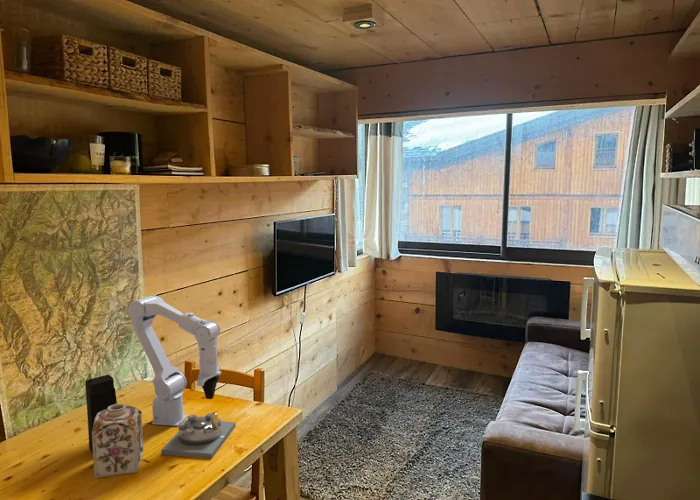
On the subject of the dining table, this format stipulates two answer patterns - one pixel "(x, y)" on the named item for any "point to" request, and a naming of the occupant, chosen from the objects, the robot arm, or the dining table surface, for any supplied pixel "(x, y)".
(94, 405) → the portable radio
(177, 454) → the base plate
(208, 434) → the notched steel disc
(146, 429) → the dining table surface
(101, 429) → the decorative jar
